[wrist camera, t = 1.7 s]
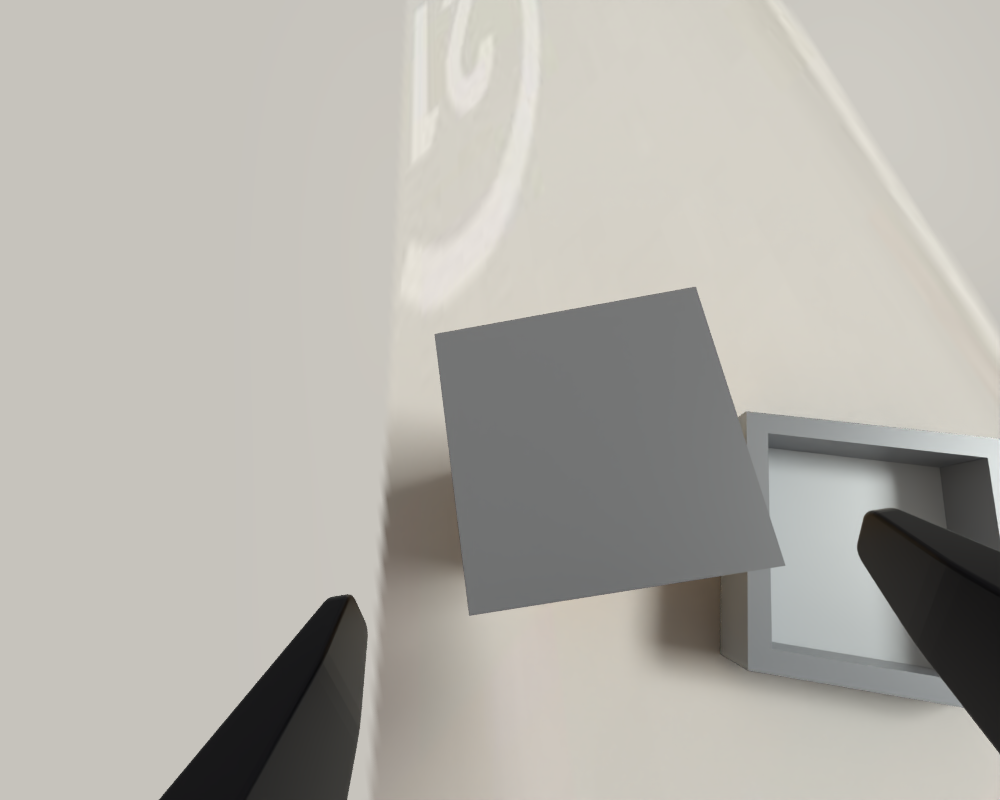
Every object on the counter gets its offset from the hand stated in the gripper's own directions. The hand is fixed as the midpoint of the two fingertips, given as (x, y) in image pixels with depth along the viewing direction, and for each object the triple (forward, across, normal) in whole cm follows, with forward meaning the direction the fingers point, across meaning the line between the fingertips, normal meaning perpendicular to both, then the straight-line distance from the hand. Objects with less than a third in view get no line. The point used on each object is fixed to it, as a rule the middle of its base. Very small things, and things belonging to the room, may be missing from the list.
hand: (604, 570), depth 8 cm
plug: (+9, 0, +6) cm, 10 cm away
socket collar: (+6, -10, +8) cm, 14 cm away
